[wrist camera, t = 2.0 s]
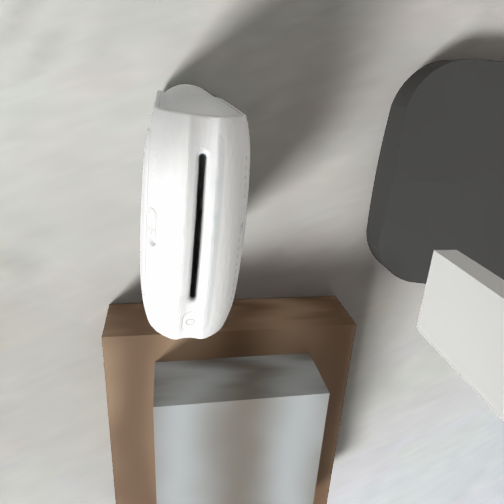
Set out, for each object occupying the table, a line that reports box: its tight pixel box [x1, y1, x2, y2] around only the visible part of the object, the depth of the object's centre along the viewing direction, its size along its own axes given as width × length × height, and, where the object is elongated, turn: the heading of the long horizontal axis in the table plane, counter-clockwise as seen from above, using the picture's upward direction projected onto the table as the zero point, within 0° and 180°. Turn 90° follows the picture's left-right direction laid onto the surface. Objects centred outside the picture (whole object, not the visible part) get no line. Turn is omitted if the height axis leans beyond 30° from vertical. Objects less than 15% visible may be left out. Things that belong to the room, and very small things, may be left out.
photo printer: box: [140, 84, 250, 339], centre depth 22 cm, size 10×4×12 cm, turn 173°
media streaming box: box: [367, 60, 504, 284], centre depth 30 cm, size 15×15×3 cm
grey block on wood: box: [102, 296, 356, 504], centre depth 31 cm, size 16×18×8 cm
